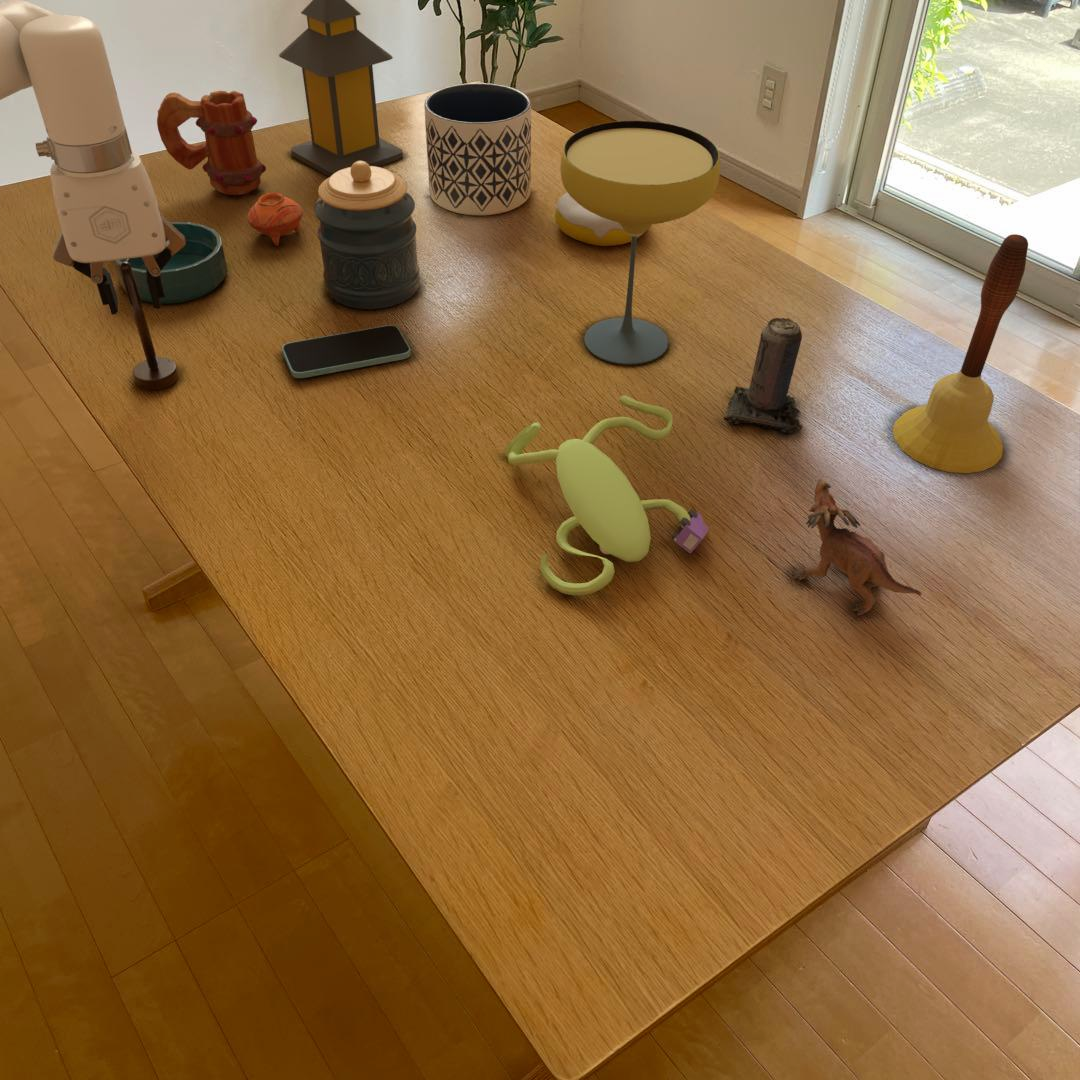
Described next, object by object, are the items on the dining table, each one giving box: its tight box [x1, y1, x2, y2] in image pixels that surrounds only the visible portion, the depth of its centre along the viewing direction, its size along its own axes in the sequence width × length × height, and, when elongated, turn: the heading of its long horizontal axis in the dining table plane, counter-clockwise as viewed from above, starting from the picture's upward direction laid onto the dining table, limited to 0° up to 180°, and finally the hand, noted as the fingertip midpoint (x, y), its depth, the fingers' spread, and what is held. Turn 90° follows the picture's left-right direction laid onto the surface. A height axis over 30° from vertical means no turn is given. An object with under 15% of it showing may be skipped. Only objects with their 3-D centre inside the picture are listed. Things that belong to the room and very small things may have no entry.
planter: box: [423, 82, 532, 216], centre depth 161 cm, size 16×16×14 cm
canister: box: [313, 161, 421, 310], centre depth 138 cm, size 13×13×18 cm
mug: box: [156, 90, 267, 196], centre depth 161 cm, size 15×8×15 cm, turn 100°
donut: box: [554, 191, 642, 247], centre depth 156 cm, size 14×14×5 cm
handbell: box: [892, 234, 1029, 474], centre depth 113 cm, size 12×12×25 cm
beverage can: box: [723, 317, 803, 434], centre depth 120 cm, size 9×8×12 cm
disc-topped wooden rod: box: [120, 262, 179, 391], centre depth 123 cm, size 5×5×16 cm
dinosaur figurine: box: [791, 479, 922, 617], centre depth 101 cm, size 14×6×9 cm, turn 43°
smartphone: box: [281, 324, 411, 379], centre depth 132 cm, size 7×1×15 cm
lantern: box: [278, 0, 404, 178], centre depth 166 cm, size 14×14×30 cm
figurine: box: [504, 394, 709, 596], centre depth 110 cm, size 18×27×6 cm
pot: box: [246, 192, 304, 247], centre depth 153 cm, size 8×8×7 cm
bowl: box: [112, 221, 228, 305], centre depth 144 cm, size 14×14×5 cm
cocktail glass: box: [560, 120, 721, 366], centre depth 127 cm, size 18×18×25 cm
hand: (136, 304), depth 121 cm, fingers open, 4 cm apart
